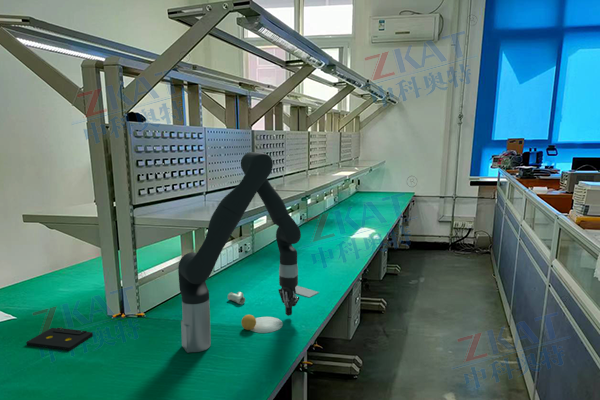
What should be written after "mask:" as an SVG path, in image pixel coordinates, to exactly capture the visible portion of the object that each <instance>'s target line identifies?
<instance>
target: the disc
mask: <svg viewBox="0 0 600 400" xmlns="http://www.w3.org/2000/svg"><path fill="white" fill-rule="evenodd" d="M255 319H256V325H255V327H254V328H253V329H251V330H250V331H252V332H254V333H258V334H269V333H274V332H277V331H279V330H281V329H282V328H283V325H284V323H283V321H282V320H281V319H279V318H278V317H273V316H261V317H255Z"/></svg>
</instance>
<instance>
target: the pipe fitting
mask: <svg viewBox="0 0 600 400" xmlns="http://www.w3.org/2000/svg"><path fill="white" fill-rule="evenodd" d="M227 300H229V301H231V302H234V303H237V304H239V305H240V306H241V305H243V304H244V303H245V302H246V298H245V297H244V293H243V292H241V291H238V292H236V293H234V292H232V291H231V292H229V293H228V294H227Z"/></svg>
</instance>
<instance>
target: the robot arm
mask: <svg viewBox="0 0 600 400" xmlns="http://www.w3.org/2000/svg"><path fill="white" fill-rule="evenodd" d="M241 157H242V158H241V160H240V168H241V170H242V172H243V174H244V176H243V178H242V179H241V181H240V182H239V183H238V184H237V185H236V187H234V188H233V189H232V190H231V191H230V192H228V193H227V194H226V195H225V196H224V197H223V198H222V200H220V202H219V204H218V205H217V207H216V208H215V210H214V212H213V214H212V215H211V216H210V220H209V223H208V227H207V232H206V235H205V237H204V241H203V242H202V245H200V247H199V249H198V251H197V252H187V253H186V254H184V255H182V257H181V258H180V259H179V263H178V267H177V268H178V269H177V271H178V284H179V285H178V286H179V291H180V296H181V306H182V307H181V308H182V309H181V310H182V319H181V320H180V326H181V328H180V329H181V332H180V333H181V347H182V348H183V349H184V350H185V352H186V353H187V354H188V353H199V352H203V351H206V350H208V349H209V348H210V347H211V345H212V344H211V342H212V340H211V308H210V304H211V303H210V290H209V288H208V285H207V283H206V281H207V280H208V278H209V277H210V276H211V274H212V272H213V270H214V268H215V266H216V264H217V262H218V259H219V256H220V255H221V253H222V252H223V249H224V247H225V246H226V244H227V243H228V241H229V239H230V238H231V236H232V235H233V233H234V231H235V230H236V228H237V226H238V224H239V222H240V221H241V219H242V218H243V216H244V214H245V212H246V210H247V208H249V206H250V204H251V203H252V200H253V199H254V197H255V196H256V194H258V195H259V198H260V199H261V201H262V203H263V205H264V207H265V208H266V211H267V213H268V215H269V217H270V219H271V221H272V223H273V224H274V225H276V226H277V228H276V232H275V238H276V244H277V248H278V252H279V269H278V275H279V277H278V282H279V286H280V287H281V288H279V289H278V293H279V296H280V300H281V303H282V304H284V307H285V309H284V310H285V315H286V316H288V317H289V316H291V315H292V314H293V307H295V306H296V305H297V304H298V302H299V300H300V296H297V294H296V290H295V287H296V286H299V266H298V251H297V250H296V248H295V247H294V246H293V245H295V244H297V243H299V241H300V240H301V238H302V236H301V235H302V233H301V229H300V227H299V226H298V224H297V223H296V221H295V220H294V219H293V217H292V216H291V214H290V213H289V211H288V208H287V207H286V205H285V203H284V200H283V199H282V197H281V196H280V195H279V193H278V192H277V190H275V188H274V187H273V186H272V184H271V183H270V181H269V180H268V178H269V176H270V175H271V172H272V170H273V167H274V164H273V159H272V157H271V156H270V155H269V154H267V153H263V152H258V151H256V152H255V151H251V152H250V151H249V152H247V153H245V154H244V155H243V156H241Z"/></svg>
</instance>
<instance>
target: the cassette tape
mask: <svg viewBox="0 0 600 400" xmlns="http://www.w3.org/2000/svg"><path fill="white" fill-rule="evenodd" d="M93 333H94V332H91V331H87V330H83V329H82V330H81V329H71V328H64V327H63V328H61V327H57V328H55V327H51V328H49V329H47V330H45V331H44V332H42V333H40V334H38V335H36V336H35V337H33V338H31V339H29V340H27V341H26V346H28V347H34V348H43V349H50V350H57V351H58V350H59V351H65V352H71V351H73V350H75V348H77V347H79V346H80V345H81V344H83V343H84V342H86V341H87V340H90V339H91V338H92V337H94V334H93Z"/></svg>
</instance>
